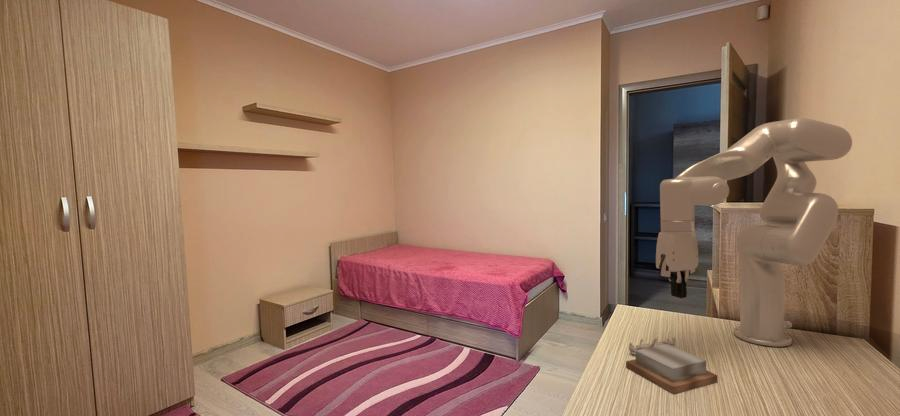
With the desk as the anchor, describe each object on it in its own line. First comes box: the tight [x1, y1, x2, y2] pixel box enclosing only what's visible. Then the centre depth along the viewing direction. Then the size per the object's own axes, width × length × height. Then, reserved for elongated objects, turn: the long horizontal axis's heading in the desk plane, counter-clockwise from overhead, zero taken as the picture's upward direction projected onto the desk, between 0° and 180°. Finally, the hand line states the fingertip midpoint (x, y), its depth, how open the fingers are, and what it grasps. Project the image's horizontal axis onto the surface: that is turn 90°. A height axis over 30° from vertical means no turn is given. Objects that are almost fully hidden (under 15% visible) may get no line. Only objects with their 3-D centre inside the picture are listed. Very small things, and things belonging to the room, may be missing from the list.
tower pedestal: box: [625, 344, 718, 395], centre depth 88 cm, size 13×13×4 cm
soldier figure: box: [628, 336, 676, 354], centre depth 99 cm, size 8×5×12 cm
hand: (678, 296), depth 99 cm, fingers closed
